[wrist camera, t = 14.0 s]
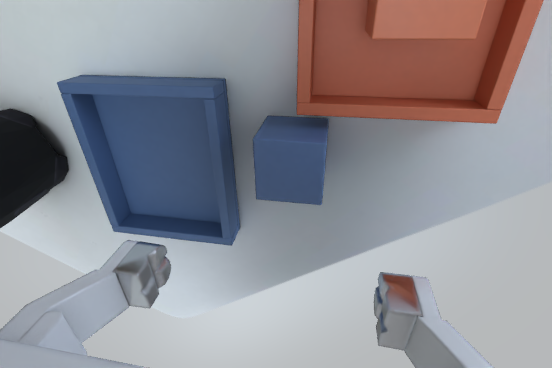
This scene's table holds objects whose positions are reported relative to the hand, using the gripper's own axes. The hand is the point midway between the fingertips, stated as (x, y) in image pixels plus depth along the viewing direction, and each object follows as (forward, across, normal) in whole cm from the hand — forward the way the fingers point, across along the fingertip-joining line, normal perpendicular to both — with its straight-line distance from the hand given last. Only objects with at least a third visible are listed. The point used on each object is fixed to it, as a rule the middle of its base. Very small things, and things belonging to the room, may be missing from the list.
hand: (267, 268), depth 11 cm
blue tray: (+13, +11, +3) cm, 18 cm away
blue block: (+13, 0, +1) cm, 13 cm away
